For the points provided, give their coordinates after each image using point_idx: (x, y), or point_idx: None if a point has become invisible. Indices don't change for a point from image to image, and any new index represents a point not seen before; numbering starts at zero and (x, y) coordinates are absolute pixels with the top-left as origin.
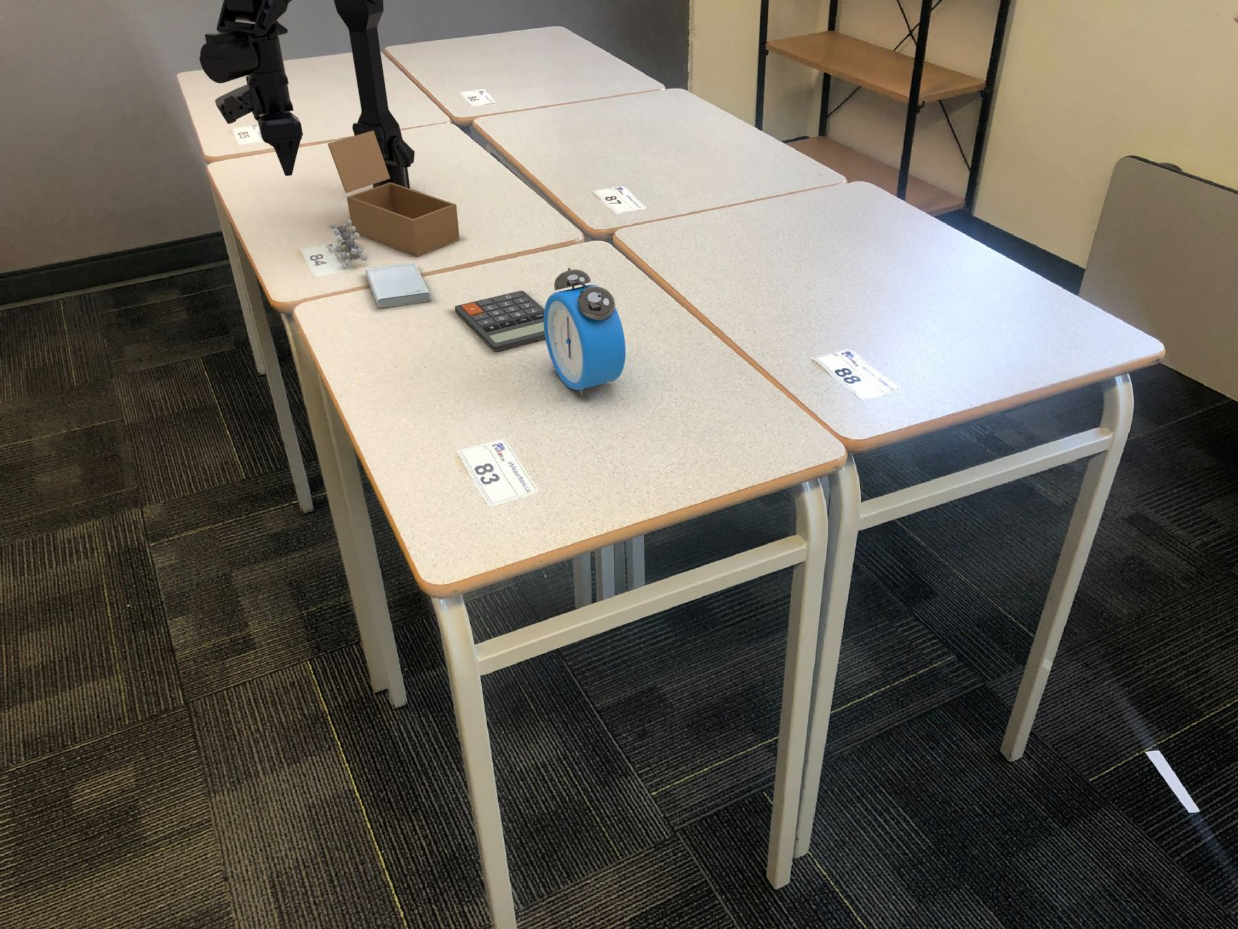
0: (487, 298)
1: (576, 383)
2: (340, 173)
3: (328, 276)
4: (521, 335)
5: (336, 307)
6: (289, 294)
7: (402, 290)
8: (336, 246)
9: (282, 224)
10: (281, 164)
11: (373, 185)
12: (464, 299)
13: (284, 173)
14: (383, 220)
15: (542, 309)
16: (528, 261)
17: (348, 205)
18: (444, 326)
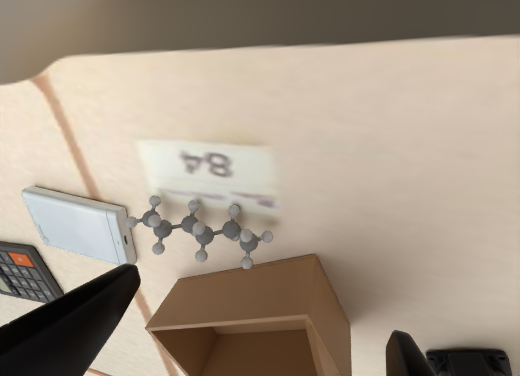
0: (47, 279)
1: None
2: (317, 372)
3: (135, 159)
4: None
5: (33, 138)
6: (73, 79)
7: (46, 224)
8: (232, 208)
9: (464, 150)
10: (58, 298)
11: (485, 374)
12: (61, 264)
13: (114, 268)
14: (214, 304)
15: (28, 298)
16: (142, 342)
17: (307, 296)
18: (3, 224)
